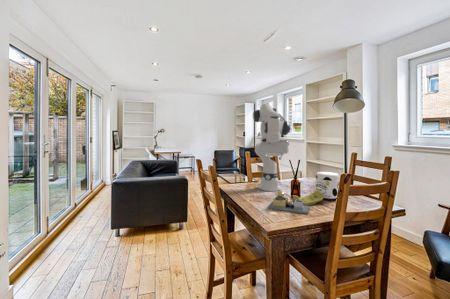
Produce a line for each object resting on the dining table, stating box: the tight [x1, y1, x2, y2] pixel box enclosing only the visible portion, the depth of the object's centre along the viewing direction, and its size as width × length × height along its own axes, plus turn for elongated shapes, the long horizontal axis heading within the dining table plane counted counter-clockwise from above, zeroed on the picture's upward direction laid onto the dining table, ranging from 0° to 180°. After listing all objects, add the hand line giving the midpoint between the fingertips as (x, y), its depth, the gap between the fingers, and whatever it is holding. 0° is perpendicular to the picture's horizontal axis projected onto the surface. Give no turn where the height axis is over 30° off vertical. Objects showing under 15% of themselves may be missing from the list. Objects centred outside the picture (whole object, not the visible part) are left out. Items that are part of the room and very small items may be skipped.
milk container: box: [313, 171, 340, 200], centre depth 178 cm, size 17×17×18 cm
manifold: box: [267, 196, 311, 215], centre depth 153 cm, size 12×24×6 cm, turn 65°
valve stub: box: [276, 191, 285, 201], centre depth 155 cm, size 4×4×8 cm
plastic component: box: [292, 191, 324, 206], centre depth 166 cm, size 20×7×10 cm
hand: (273, 159), depth 169 cm, fingers open, 8 cm apart
